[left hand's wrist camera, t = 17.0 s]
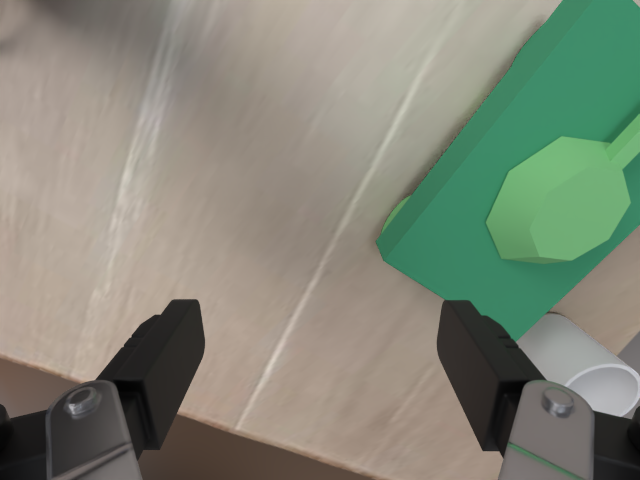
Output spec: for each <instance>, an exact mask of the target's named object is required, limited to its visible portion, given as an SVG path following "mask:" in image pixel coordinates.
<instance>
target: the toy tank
mask: <svg viewBox="0 0 640 480" xmlns="http://www.w3.org/2000/svg"><path fill="white" fill-rule="evenodd" d="M639 225H640V7H639V6H638V5H637V4H636V3H635V2H634V1H633V0H563V1H562V2H561V3H560V4H559V6H558V7H557V8H556V10H555V11H554V12H553V13H552V15H551V16H550V17H549V19H548V20H547V21H546V22H545V23H544V24H543V25H542V26H541V27H540V28H539V29H538V30H537V31H536V32H535V33H534V34H533V35H532V36H531V38H530V39H529V40H528V41H527V42H526V44H525V45H524V46H523V47H522V49H521V50H520V52H519V53H518V54H517V56H516V58H515V60H514V61H513V63H512V66H511V68H510V69H509V70H508V71H507V73H506V74H505V75H504V77H503V78H502V79H501V80H500V82H499V83H498V84H497V86H496V87H495V88H494V89H493V91H492V92H491V93H490V95H489V96H488V97H487V98H486V100H485V101H484V102H483V104H482V105H481V106H480V108H479V109H478V110H477V111H476V113H475V114H474V115H473V117H472V118H471V119H470V120H469V122H468V123H467V124H466V126H465V127H464V128H463V129H462V131H461V132H460V133H459V135H458V136H457V137H456V138H455V140H454V141H453V142H452V144H451V145H450V146H449V147H448V149H447V150H446V151H445V153H444V154H443V155H442V156H441V158H440V159H439V160H438V162H437V163H436V164H435V165H434V167H433V168H432V169H431V171H430V172H429V173H428V174H427V176H426V177H425V178H424V180H423V181H422V182H421V184H420V185H419V186H418V187H417V189H416V190H415V191H414V193H413V194H412V195H411V196H408V197H407V198H405V199H403V200H402V201H401V202H400V203H399V204H398V205H397V206H396V207H395V209H394V210H393V211H392V212H391V214H390V215H389V217H388V218H387V220H386V222H385V224H384V226H383V229H382V231H381V235H380V236H379V238H378V239H377V240H376V244H377V246H378V248H379V251H380V253H381V256H382V258H383V260H384V261H385V262H386V263H388V264H389V265H391V266H393V267H394V268H396V269H397V270H399V271H401V272H402V273H404V274H405V275H407V276H408V277H410V278H412V279H413V280H415V281H416V282H418V283H420V284H421V285H423V286H424V287H426V288H428V289H429V290H431V291H432V292H434V293H436V294H437V295H439V296H440V297H442V298H443V299H445V300H469V301H471V302H472V304H473V305H474V306H475V308H476V309H477V310H478V312H479V313H480V314H481V315H487V316H489V317H490V318H492V319H493V320H495V321H496V322H498V323H499V324H501V325H502V326H503V328H504V329H505V330H506V331H507V332H508V334H509V335H510V336H511V339H513V340H514V341H515V342H516V341H517V340H518V339H520V338H521V337H522V336H523V335H524V334H525V333H526V332H527V331H528V330H529V329H530V328H531V327H532V326H533V325H534V324H535V323H536V322H537V321H539V320H540V319H541V318H542V317H543V316H544V315H545V314H546V313H547V312H548V311H549V310H550V309H551V308H552V307H553V306H554V305H555V304H556V303H558V302H559V301H560V300H561V299H562V298H563V297H564V296H565V295H566V294H567V293H568V292H569V291H570V290H571V289H572V288H573V287H574V286H575V285H577V284H578V283H579V282H580V281H581V280H582V279H583V278H584V277H585V276H586V275H587V274H588V273H589V272H590V271H591V270H592V269H593V268H594V267H596V266H597V265H598V264H599V263H600V262H601V261H602V260H603V259H604V258H605V257H606V256H607V255H608V254H609V253H610V252H611V251H612V250H613V249H615V248H616V247H617V246H618V245H619V244H620V243H621V242H622V241H623V240H624V239H625V238H626V237H627V236H628V235H629V234H630V233H631V232H632V231H634V230H635V229H636V228H637V227H638V226H639Z"/></svg>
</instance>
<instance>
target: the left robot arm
mask: <svg viewBox="0 0 640 480" xmlns="http://www.w3.org/2000/svg"><path fill="white" fill-rule="evenodd" d="M204 349H205V337H204V330H203V323H202V317H201V310H200V304H199V302H198V300H196V299H174V300H172V301H171V302H170V303H169V304H168V306H167V307H166V308H165V310H164V311H163V312H162V314H161V315H154V316H152V317H151V318H149V319H148V320H146V321H145V322H143V323H142V324H141V325H140V326H139V327H138V328H137V330H136V331H135V332H134V333H133V334H132V337H131V338H129V339H128V341H127V342H126V343H125V344H124V347H122V348H121V349H120V350H119V352H118V353H117V354H116V355H115V356H114V358H113V359H112V360H111V361H110V363H109V364H108V365H107V366H106V367H105V369H104V370H103V371H102V372H101V374H100V375H99V376H98V377H97V378H96V380H94V381H89V382H85V383H82V384H79V385H77V386H75V387H73V388H71V389H69V390H67V391H66V392H64V393H63V394H61V395H60V396H59V397H58V398H57V399H55V400H54V402H53V403H52V404H51V405H50V406H49V408H48V410H44V411H40V412H36V413H31V414H27V415H23V416H19V417H14V418H9V415H8V413H7V411H6V409H5V407H4V406H3V405H1V404H0V480H142V477H141V473H140V470H139V466H138V462H137V461H138V459H139V457H140V455H141V453H142V451H143V450H160V448H161V446H162V444H163V442H164V440H165V437H166V435H167V433H168V431H169V429H170V427H171V425H172V422H173V420H174V418H175V416H176V414H177V412H178V410H179V407H180V405H181V403H182V401H183V399H184V397H185V394H186V392H187V390H188V388H189V386H190V384H191V382H192V379H193V377H194V375H195V373H196V371H197V369H198V366H199V364H200V362H201V360H202V358H203V354H204ZM437 351H438V356H439V359H440V361H441V363H442V365H443V368H444V370H445V372H446V374H447V376H448V378H449V380H450V382H451V385H452V387H453V389H454V391H455V393H456V395H457V397H458V399H459V402H460V404H461V406H462V408H463V410H464V412H465V414H466V416H467V419H468V421H469V423H470V425H471V427H472V429H473V431H474V433H475V436H476V438H477V440H478V442H479V444H480V446H481V448H482V450H483V451H500V453H501V455H502V457H503V462H502V466H501V470H500V473H499V477H498V480H640V406H639V407H638V408H637V409H636V411H635V413H634V415H633V418H632V419H627V418H623V417H619V416H615V415H610V414H606V413H602V412H598V411H594V410H592V408H591V406H590V405H589V404H588V403H587V401H586V400H585V399H583V398H582V397H581V396H580V395H579V394H577V393H576V392H574V391H573V390H571V389H569V388H567V387H565V386H563V385H561V384H558V383H555V382H551V381H547V380H546V378H545V377H544V376H543V375H542V374H541V372H540V371H539V370H538V369H537V368H536V366H535V365H534V364H533V363H532V361H531V360H530V359H529V358H528V357H527V355H526V354H525V353H524V352H523V351H522V349H521V348H519V346H518V344H517V343H516V342H515V341H514V340H513V339H511V336H510V335H509V334H508V332H507V331H506V330H505V329H504V328H503V326H502V325H501V324H499V323H498V322H496V321H495V320H493V319H492V318H490V317H489V316H487V315H481V314H480V313H479V312H478V310H477V309H476V308H475V306H474V305H473V304H472V302H471V301H469V300H445V301H444V302H443V304H442V309H441V316H440V323H439V329H438V336H437Z"/></svg>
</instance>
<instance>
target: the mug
mask: <svg viewBox="0 0 640 480" xmlns="http://www.w3.org/2000/svg"><path fill="white" fill-rule="evenodd" d="M516 343H517V344H518V346H519V348H521V349H522V351H523V352H524V353H525V354H526V355H527V357H528V358H529V359H530V360H531V361H532V363H533V364H534V365H535V366H536V368H537V369H538V370H539V371H540V372H541V374H542V375H543V376H544V377H545V378H546V380H547V381H551V382H555V383H558V384H561V385H563V386H565V387H567V388H569V389H571V390H573V391H574V392H576V393H577V394H579V395H580V396H581V397H582V398H583V399H585V400H586V401H587V403H588V404H589V405H590V406H591V408H592V410H594V411H598V412H602V413H606V414H610V415H615V416H619V417H622V416H623V415H625V414H626V413H628V412H629V411H630V410H631V409H632V408H633V407H634V406H635V404H636V403H637V401H638V400H639V398H640V376H639V374H638V373H637V372H636V371H634V370H633V369H632V368H631V367H630V366H628V365H627V364H626V363H624V362H623V361H622V360H620V359H619V358H618V357H617V356H615V355H614V354H613V353H612V352H610V351H609V350H608V349H606V348H605V347H604V346H602V345H601V344H600V343H599V342H597V341H596V340H595V339H593V338H592V337H591V336H590V335H588V334H587V333H586V332H584V331H583V330H582V329H580V328H579V327H578V326H577V325H575V324H574V323H573V322H571V321H570V320H569V319H568V318H566V317H565V316H563V315H560V314H556V313H546V314H545V315H544V316H543V317H542V318H541V319H540V320H539V321H537V322H536V323H535V324H534V325H533V326H532V327H531V328H530V329H529V330H528V331H527V332H526V333H525V334H524V335H523V336H522V337H521V338H520V339H518V340H517V341H516Z"/></svg>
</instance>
